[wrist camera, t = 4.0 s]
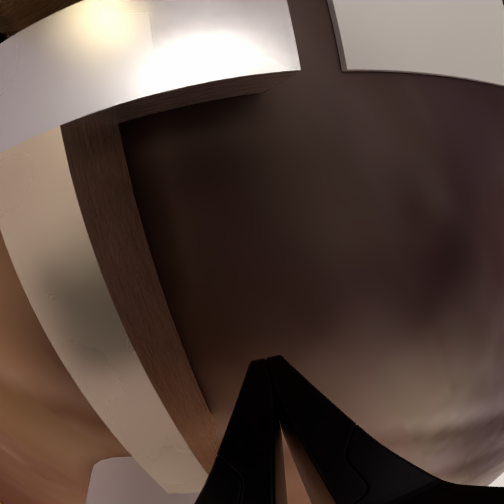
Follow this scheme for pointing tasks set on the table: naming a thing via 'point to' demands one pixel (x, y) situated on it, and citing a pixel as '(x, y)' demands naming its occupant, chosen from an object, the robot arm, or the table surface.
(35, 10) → the brown mottled cylinder
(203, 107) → the table surface
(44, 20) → the square frame with handle
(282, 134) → the table surface
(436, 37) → the white flat square block
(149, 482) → the base with upright slab
